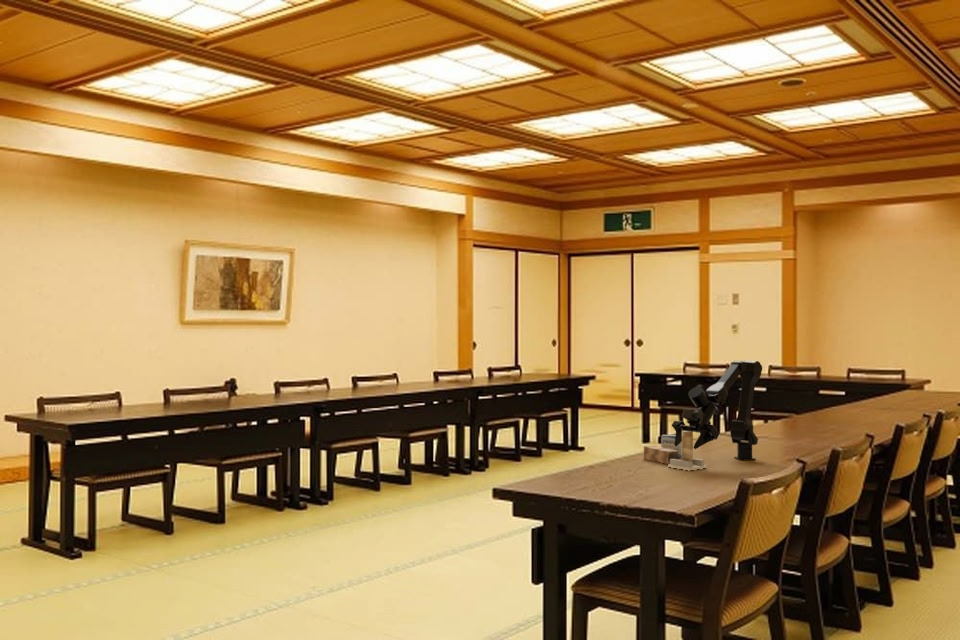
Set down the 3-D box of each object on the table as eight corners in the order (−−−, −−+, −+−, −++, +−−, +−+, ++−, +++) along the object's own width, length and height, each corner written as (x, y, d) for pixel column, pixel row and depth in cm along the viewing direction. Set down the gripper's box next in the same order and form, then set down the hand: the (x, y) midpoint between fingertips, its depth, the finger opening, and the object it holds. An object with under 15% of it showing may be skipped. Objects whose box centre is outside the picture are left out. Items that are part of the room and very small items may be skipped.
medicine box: (661, 456, 364) (661, 435, 364) (662, 455, 369) (662, 434, 369) (681, 457, 362) (681, 436, 362) (681, 456, 366) (681, 434, 366)
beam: (643, 459, 358) (643, 446, 358) (654, 458, 360) (654, 445, 360) (668, 464, 343) (668, 451, 344) (678, 464, 346) (678, 451, 346)
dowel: (679, 464, 337) (679, 431, 337) (689, 463, 338) (689, 430, 338) (685, 465, 333) (685, 432, 333) (694, 465, 335) (694, 431, 335)
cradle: (685, 465, 343) (685, 456, 343) (706, 468, 335) (706, 459, 335) (667, 467, 337) (667, 459, 337) (688, 471, 329) (688, 462, 329)
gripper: (674, 399, 346) (655, 430, 339) (713, 403, 331) (694, 435, 324) (688, 418, 351) (669, 449, 344) (727, 422, 336) (708, 455, 329)
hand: (684, 446), depth 335 cm, fingers open, 9 cm apart
